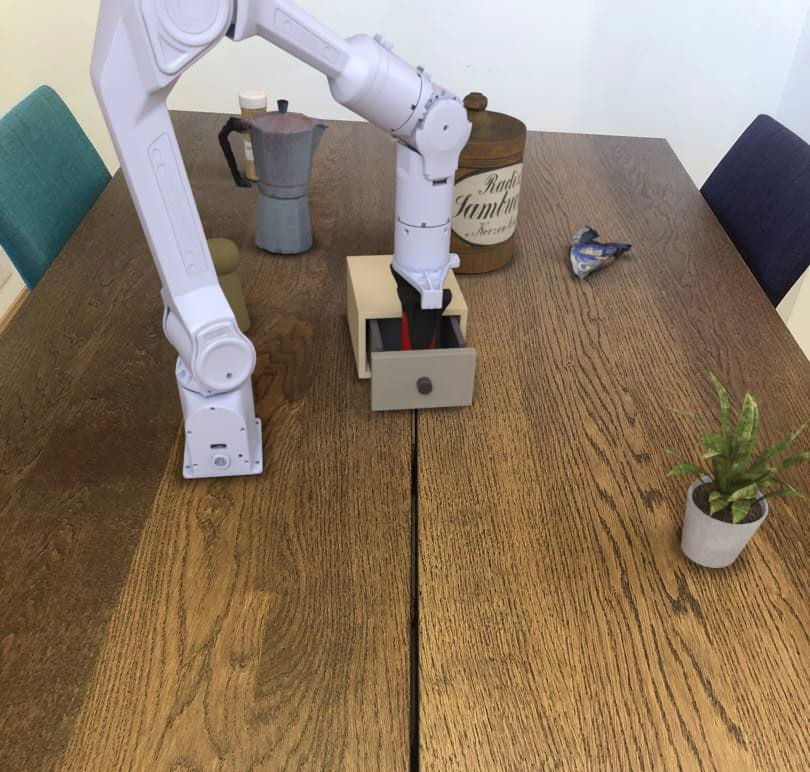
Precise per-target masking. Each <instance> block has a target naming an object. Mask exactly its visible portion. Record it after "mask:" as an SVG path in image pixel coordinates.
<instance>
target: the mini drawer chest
mask: <svg viewBox="0 0 810 772" xmlns="http://www.w3.org/2000/svg"><path fill="white" fill-rule="evenodd" d="M392 256H393V254H379V255H378V254H377V255H346V296H347V297H346V299H347V303H346V304H347V307H346V308H347V323H348V327H349V332H350V338H351V345H352V349H353V353H354V360H355V364H356V370H357V375H358V379H371V372H370V367H369V362H368V358H367V353H366V319H373V318H397V317H402V307H401V302H400V300H399V297H398V294H397V287H398V286H397V283H396V281H395V279H394V277H393V275H392V273H391V270H390V264H391V263H392ZM442 289H450V290H451V293H452V300H451V303H450V304H449V305H448V306H447V308H446V309H445V311H444V312H443V314H442V316H444V315H455V316H456V319H457V321H458V324H459V327H460V329H461V332H462V334H463V337H464V340H465V341H466V334H467V324H468V313H469V308H468V305H467V302H466V300H465V298H464V295H463V292H462V291H461V290H462V289H461V288H460V285H459V283H458V281H457V277H456V276H455V273H454V272H453V271H452V268H450V269H449V271H448V274H447V276H446V279H445V282H444V284H443V287H442Z"/></svg>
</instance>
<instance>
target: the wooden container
mask: <svg viewBox="0 0 810 772" xmlns="http://www.w3.org/2000/svg"><path fill="white" fill-rule="evenodd" d="M462 101H463V103H464V104H465V105H463V107H464V108H466V111H467V120H468V121H469V123H470V122H471V123H472V128H471V133H470V136H469V138H468V141H467V143H466V144H465V146H464V148H463V149H462V150H461V152H460V155H459V158H458V169H457V170H455V179H454V193H453V207H452V219H451V234H450V248H449V253H454V254H457V255H458V257H459V259H460V265H459V267H457V268H452V271H453V273H454V274H467V275H469V274H479V273H480V274H483V273H488V272H491V271H495V270H497V269H501V268H502V267H504V266H506V265H507V264H508V263H509V262H510V261H511V258H512V254H513V249H514V241H515V234H516V228H517V227H516V226H517V222H518V221H517V219H518V214H519V213H518V212H519V205H520V196H521V195H520V194H521V184H522V175H523V165H524V156H525V147H526V141H527V133H528V132H527V130H528V129H527V126H526V124H525V123H524V122H523V121H522V120H520V119H519V118H517V117H514V116H511V115H509V114H506V113H503V112H498V111H495V110H489V109H487V108H488V103H489V101H488V97H487V96H485V95H484V94H483V93H482V92H477V91H471V92H469V94H467V95H465V96H464V98H463V99H462Z"/></svg>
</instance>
